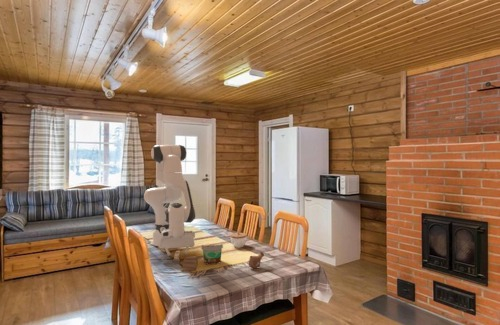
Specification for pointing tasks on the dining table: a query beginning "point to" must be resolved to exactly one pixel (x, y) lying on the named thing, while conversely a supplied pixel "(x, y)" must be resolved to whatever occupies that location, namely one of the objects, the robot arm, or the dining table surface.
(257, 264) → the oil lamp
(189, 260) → the wooden board
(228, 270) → the dining table surface
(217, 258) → the food container
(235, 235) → the lidded jar
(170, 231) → the robot arm
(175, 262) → the turner
